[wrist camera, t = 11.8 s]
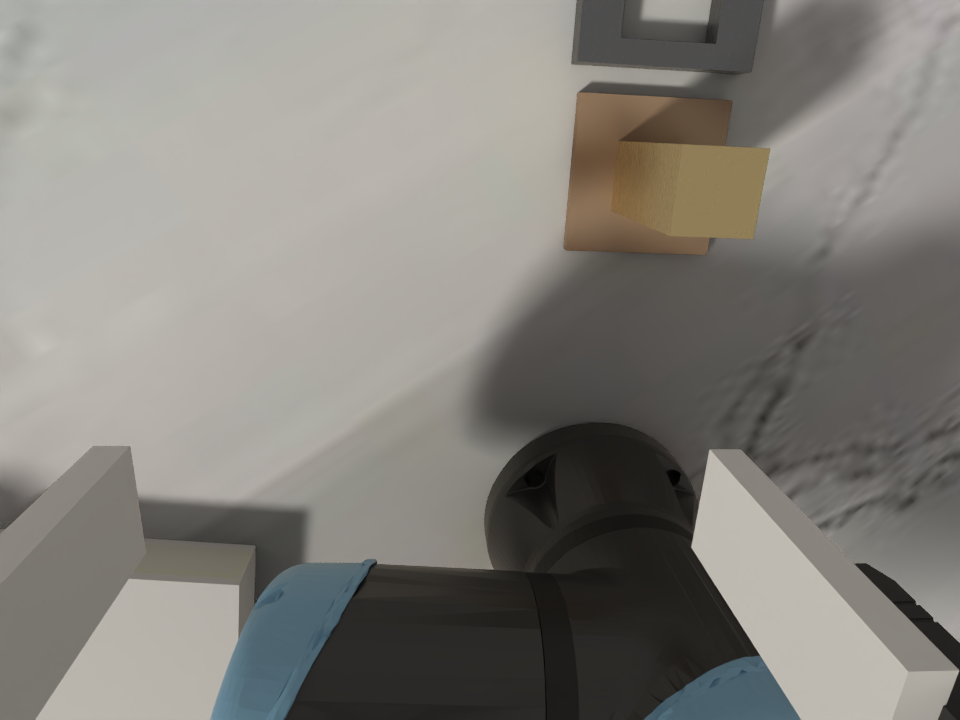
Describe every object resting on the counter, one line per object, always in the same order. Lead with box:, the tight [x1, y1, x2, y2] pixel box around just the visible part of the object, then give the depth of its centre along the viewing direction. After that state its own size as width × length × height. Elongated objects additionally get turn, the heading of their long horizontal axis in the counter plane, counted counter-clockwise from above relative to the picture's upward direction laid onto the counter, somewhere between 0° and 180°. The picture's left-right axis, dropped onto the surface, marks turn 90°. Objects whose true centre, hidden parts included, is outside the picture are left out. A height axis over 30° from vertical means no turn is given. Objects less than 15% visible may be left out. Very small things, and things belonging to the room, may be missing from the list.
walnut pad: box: [564, 92, 732, 255], centre depth 39 cm, size 9×9×1 cm
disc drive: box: [0, 529, 256, 720], centre depth 46 cm, size 18×22×5 cm
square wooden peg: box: [611, 141, 770, 239], centre depth 34 cm, size 4×4×10 cm
